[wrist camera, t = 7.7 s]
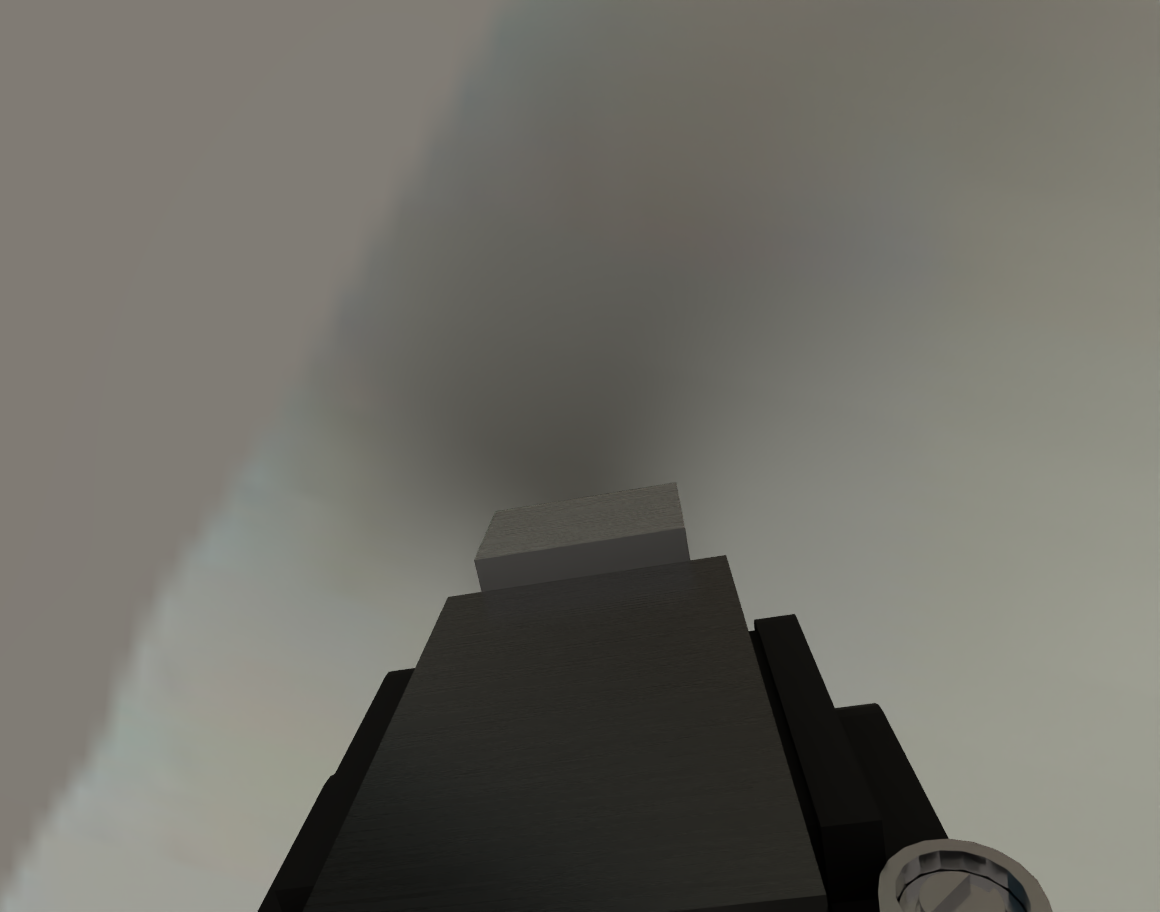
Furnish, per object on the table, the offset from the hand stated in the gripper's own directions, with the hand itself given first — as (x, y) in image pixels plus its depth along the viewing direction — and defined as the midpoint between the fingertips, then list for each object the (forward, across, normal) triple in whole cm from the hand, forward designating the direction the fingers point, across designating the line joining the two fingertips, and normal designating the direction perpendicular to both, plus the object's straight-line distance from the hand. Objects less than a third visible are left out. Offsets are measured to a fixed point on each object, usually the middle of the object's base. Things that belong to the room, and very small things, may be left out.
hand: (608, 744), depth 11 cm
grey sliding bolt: (+3, 0, +9) cm, 9 cm away
